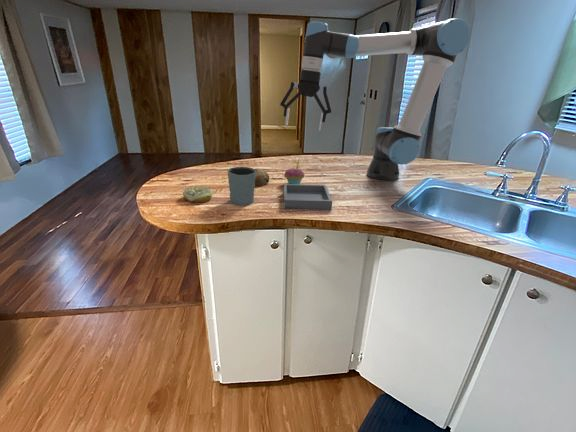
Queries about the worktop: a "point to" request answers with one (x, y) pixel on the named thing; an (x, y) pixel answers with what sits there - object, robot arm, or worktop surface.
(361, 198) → the worktop surface
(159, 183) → the worktop surface
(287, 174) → the cupcake
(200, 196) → the decorated donut
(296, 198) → the serving tray
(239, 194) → the grey cup
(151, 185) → the worktop surface
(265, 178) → the bread roll
